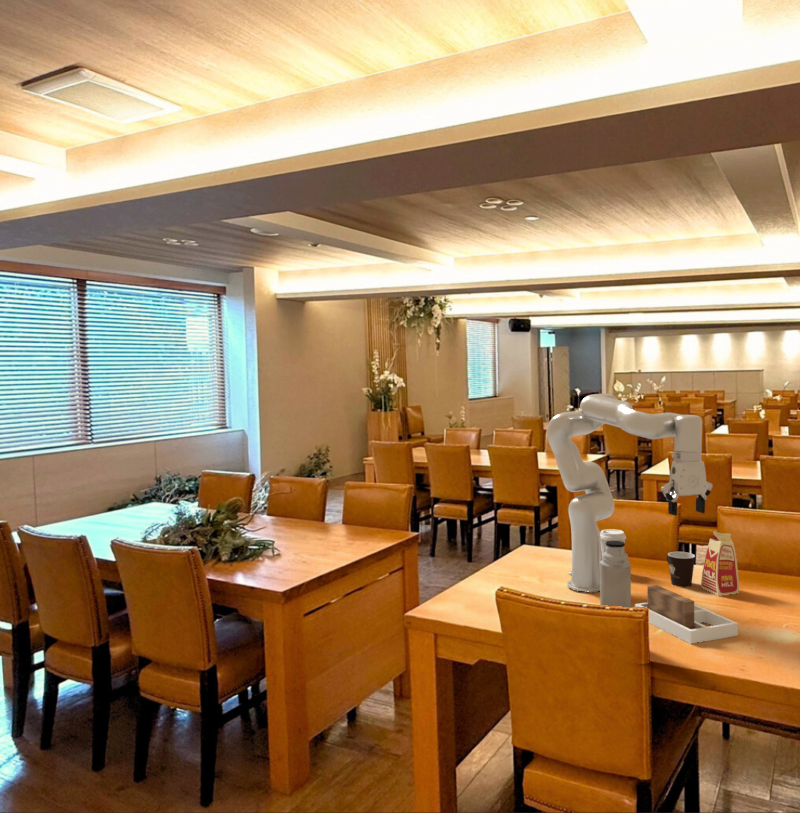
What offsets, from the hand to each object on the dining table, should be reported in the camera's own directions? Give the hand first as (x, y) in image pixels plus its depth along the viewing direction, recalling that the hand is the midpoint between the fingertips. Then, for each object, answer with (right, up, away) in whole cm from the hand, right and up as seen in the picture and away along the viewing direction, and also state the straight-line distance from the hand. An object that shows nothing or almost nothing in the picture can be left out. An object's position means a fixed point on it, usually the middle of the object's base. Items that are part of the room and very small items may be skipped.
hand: (686, 513), depth 219 cm
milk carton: (+20, -29, +23) cm, 42 cm away
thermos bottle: (-27, -33, -20) cm, 47 cm away
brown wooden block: (-8, -32, -9) cm, 34 cm away
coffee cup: (-9, -28, +45) cm, 54 cm away
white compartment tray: (-4, -31, -8) cm, 32 cm away
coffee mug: (+10, -29, +32) cm, 44 cm away
